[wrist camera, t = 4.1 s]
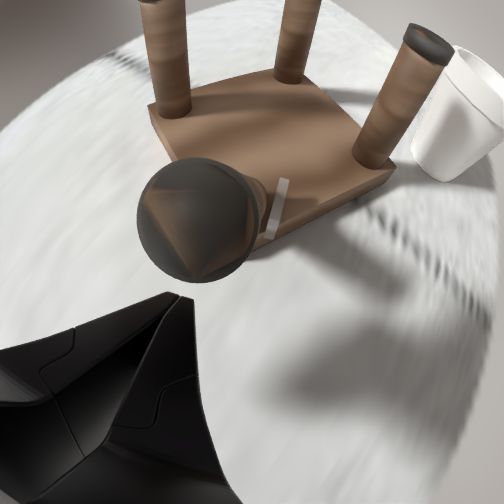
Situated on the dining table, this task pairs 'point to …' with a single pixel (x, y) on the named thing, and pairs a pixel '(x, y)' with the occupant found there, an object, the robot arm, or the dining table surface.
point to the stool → (285, 115)
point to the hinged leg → (200, 219)
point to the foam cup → (460, 117)
